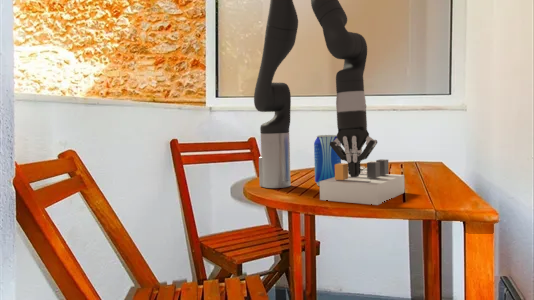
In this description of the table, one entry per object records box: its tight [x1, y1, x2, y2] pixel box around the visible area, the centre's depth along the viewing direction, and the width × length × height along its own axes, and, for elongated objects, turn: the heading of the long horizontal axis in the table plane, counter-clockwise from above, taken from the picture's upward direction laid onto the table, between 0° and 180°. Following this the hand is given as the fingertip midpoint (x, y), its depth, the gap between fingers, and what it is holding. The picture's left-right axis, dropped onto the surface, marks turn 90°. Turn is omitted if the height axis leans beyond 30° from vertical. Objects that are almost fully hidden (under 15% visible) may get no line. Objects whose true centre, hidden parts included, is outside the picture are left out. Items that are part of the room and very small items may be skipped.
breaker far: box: [375, 159, 389, 175], centre depth 127 cm, size 2×3×4 cm
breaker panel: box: [319, 172, 405, 206], centre depth 124 cm, size 16×20×5 cm
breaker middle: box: [366, 161, 380, 178], centre depth 122 cm, size 2×3×4 cm
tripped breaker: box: [335, 162, 348, 180], centre depth 120 cm, size 2×3×4 cm
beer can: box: [313, 134, 342, 187], centre depth 146 cm, size 8×8×16 cm
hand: (354, 176), depth 118 cm, fingers closed
